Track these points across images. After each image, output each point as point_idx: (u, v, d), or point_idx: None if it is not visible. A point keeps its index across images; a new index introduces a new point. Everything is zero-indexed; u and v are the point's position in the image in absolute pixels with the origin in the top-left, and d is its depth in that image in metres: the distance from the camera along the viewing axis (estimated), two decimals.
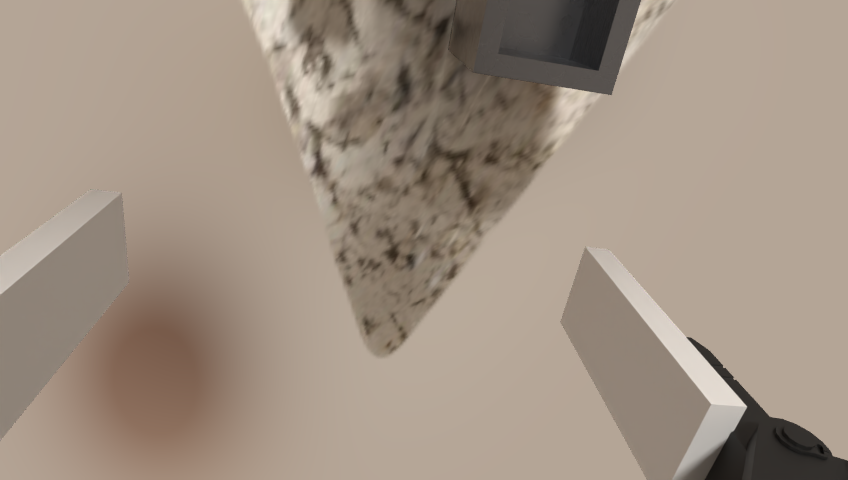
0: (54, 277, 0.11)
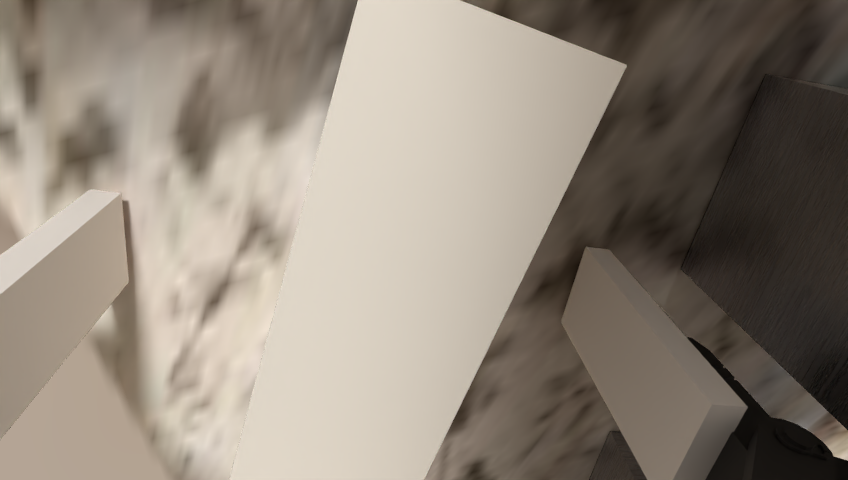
0: (53, 278, 0.11)
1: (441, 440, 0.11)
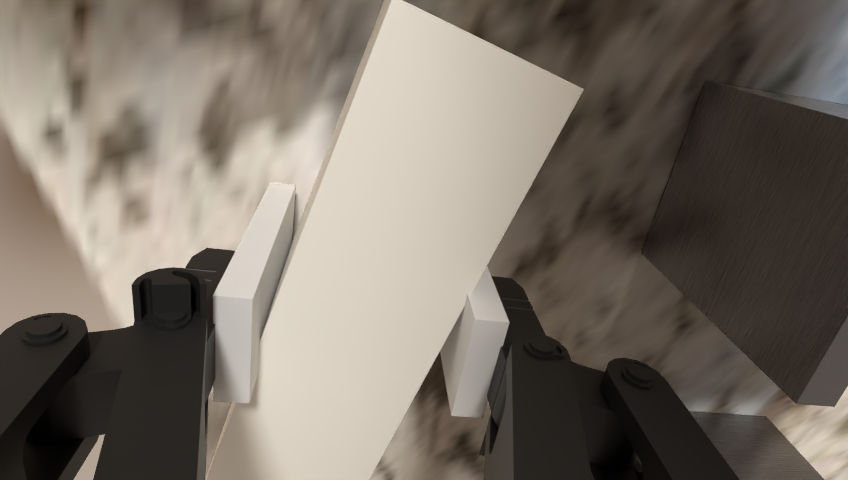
0: (276, 252, 0.13)
1: (416, 390, 0.13)
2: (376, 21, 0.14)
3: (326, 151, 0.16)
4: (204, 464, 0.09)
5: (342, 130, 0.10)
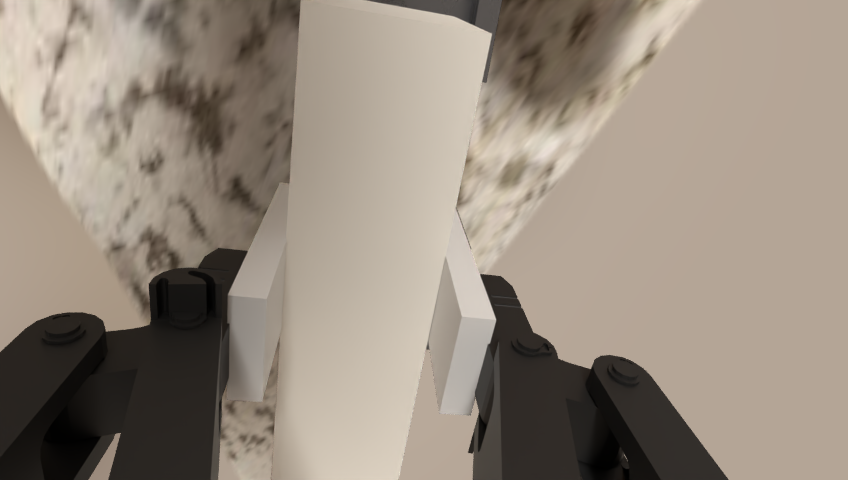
0: None
1: (427, 337, 0.15)
2: None
3: None
4: (217, 463, 0.09)
5: (293, 125, 0.12)
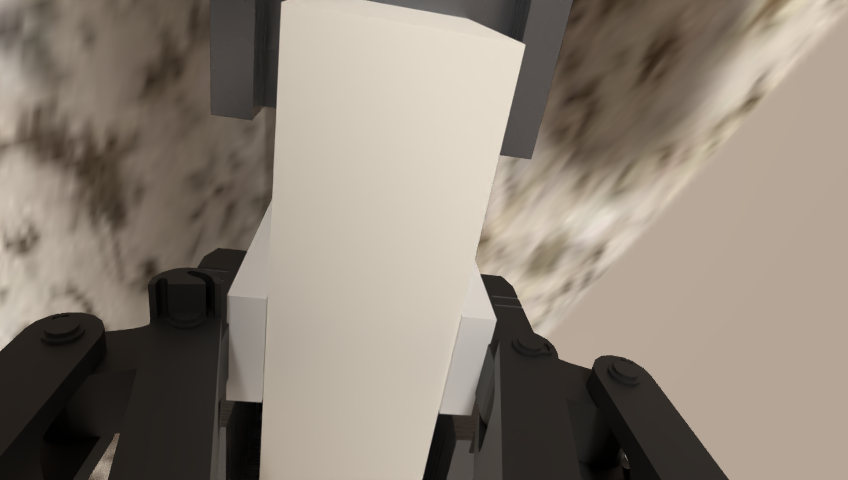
0: None
1: (439, 402, 0.12)
2: None
3: None
4: (217, 463, 0.09)
5: (274, 159, 0.09)
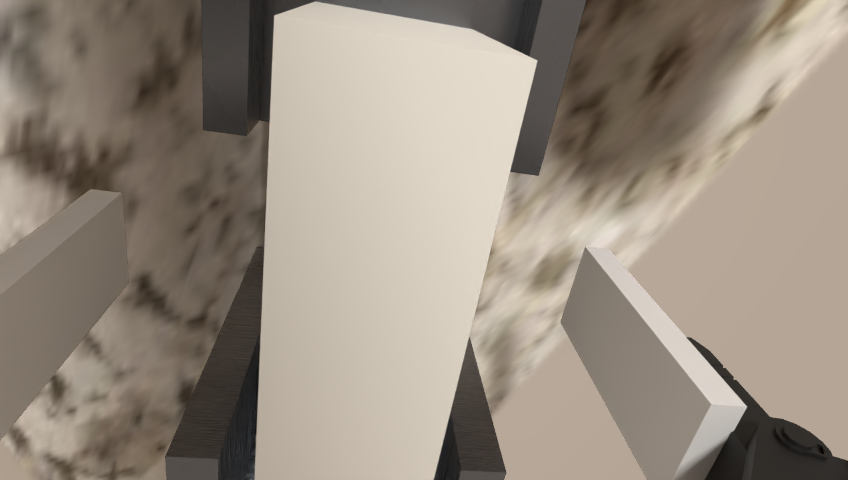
0: (54, 277, 0.11)
1: (443, 435, 0.12)
2: None
3: None
4: None
5: (268, 182, 0.09)
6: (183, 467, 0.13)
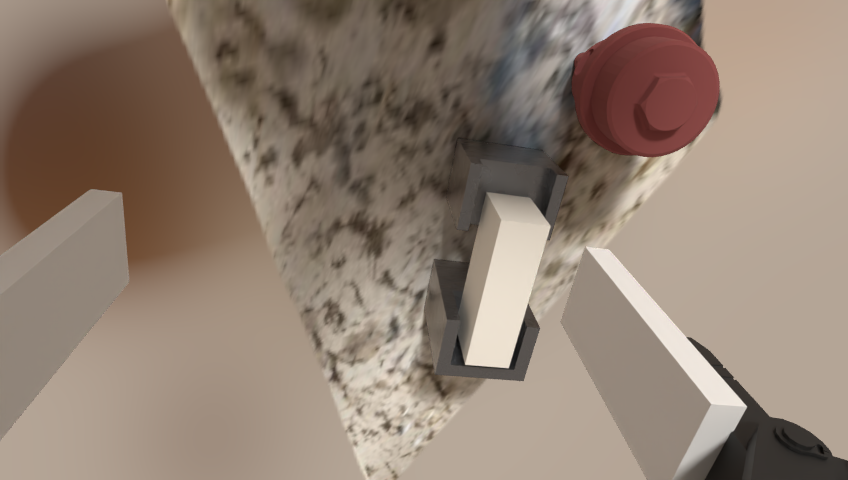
0: (54, 277, 0.11)
1: (525, 311, 0.44)
2: (486, 203, 0.45)
3: (475, 242, 0.47)
4: None
5: (494, 249, 0.41)
6: (450, 323, 0.45)
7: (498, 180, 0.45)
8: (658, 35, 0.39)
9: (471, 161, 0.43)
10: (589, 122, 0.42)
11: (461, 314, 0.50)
